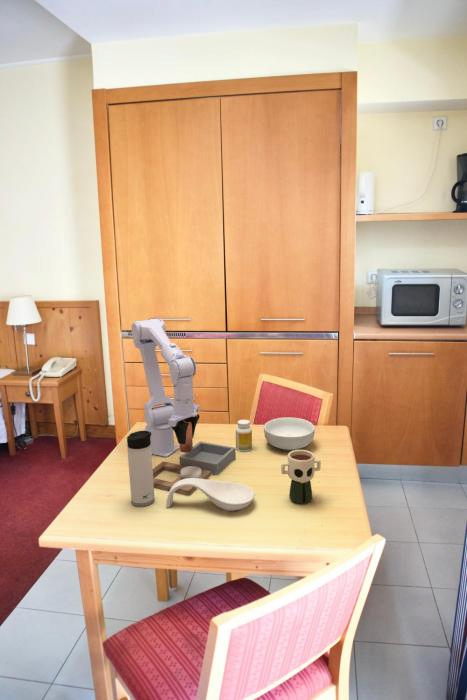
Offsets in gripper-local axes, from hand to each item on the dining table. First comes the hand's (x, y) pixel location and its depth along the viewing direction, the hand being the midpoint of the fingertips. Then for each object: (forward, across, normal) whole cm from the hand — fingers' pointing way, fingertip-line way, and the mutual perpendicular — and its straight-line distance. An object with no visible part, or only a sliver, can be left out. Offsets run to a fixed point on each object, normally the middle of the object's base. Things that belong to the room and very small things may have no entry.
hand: (185, 440), depth 162 cm
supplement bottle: (+10, +22, -9) cm, 25 cm away
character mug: (+10, -2, -37) cm, 39 cm away
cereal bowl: (+10, +30, -22) cm, 38 cm away
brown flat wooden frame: (+10, -6, 0) cm, 12 cm away
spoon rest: (+10, -15, -16) cm, 24 cm away
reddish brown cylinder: (+3, 0, 0) cm, 3 cm away
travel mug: (+10, -20, +2) cm, 23 cm away
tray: (+10, +8, -3) cm, 13 cm away
